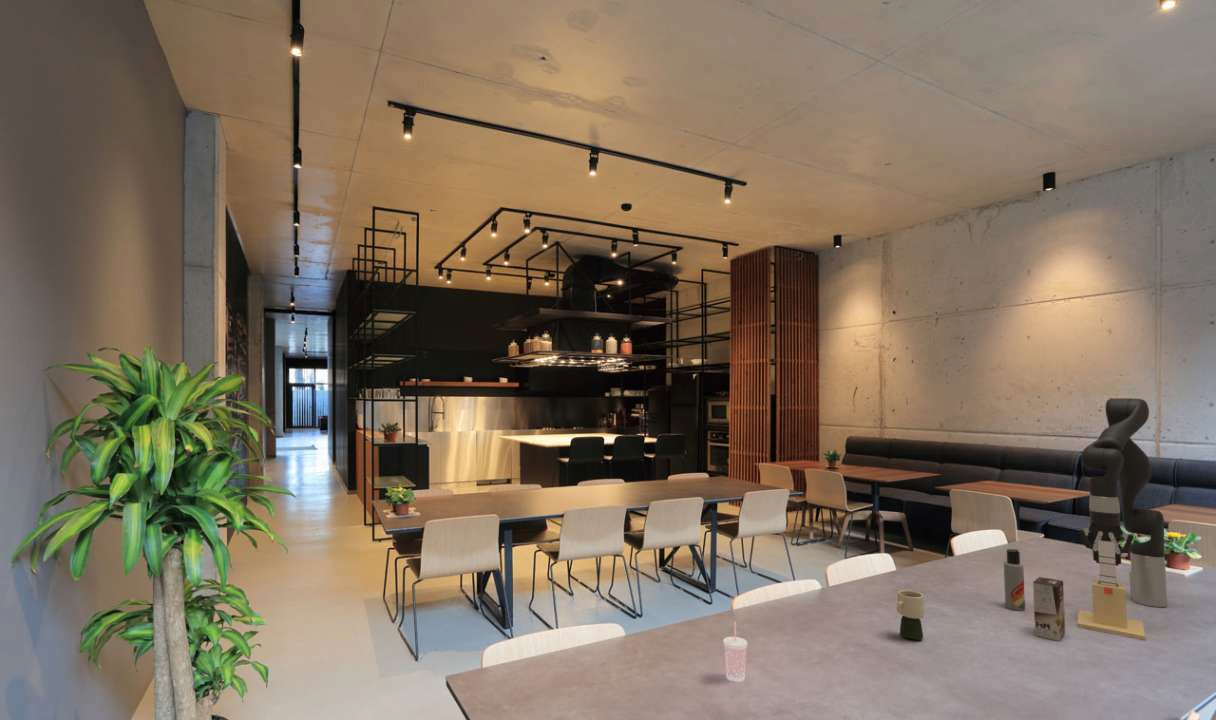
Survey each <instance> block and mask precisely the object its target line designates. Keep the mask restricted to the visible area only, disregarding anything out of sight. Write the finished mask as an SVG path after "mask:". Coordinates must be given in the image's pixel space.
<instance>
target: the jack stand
mask: <svg viewBox="0 0 1216 720" xmlns="http://www.w3.org/2000/svg"><path fill="white" fill-rule="evenodd" d="M1125 585H1126V584H1125V583H1122V582H1117V587H1113V586H1107V585H1100V579H1096V578H1092V582H1091V589H1092V590H1091V591H1092V606H1093V607H1092V608H1093V612H1091V611H1085V610H1081V609H1080V610H1078V614H1077V615H1078V617H1077V628H1080V629H1085V630H1091V631H1095V630H1096V632H1100V631H1101V632H1102V633H1105V632H1106V634H1110V633H1112V634H1111V635H1116V634H1118V635H1117V636H1121V635H1123V636H1122V637H1126V636H1127V638H1131V637H1133V638H1132V639H1136V638H1138V639H1137V640H1141V639H1143V640H1142V641H1146V634H1145V628H1144V623H1143V621H1141V620H1137V619H1136V620H1135V619H1129V618H1127V600H1126V586H1125ZM1101 632H1100V633H1101Z"/></svg>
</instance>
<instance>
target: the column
mask: <svg viewBox="0 0 1216 720" xmlns="http://www.w3.org/2000/svg"><path fill="white" fill-rule="evenodd" d="M1098 551H1099V563H1098V564H1099V567H1098V569H1099V573H1098V574H1099V580H1100V585H1107V586H1113V587H1117V583H1118V582H1117V570H1116V569H1117V568H1116V562H1115V553H1116V551H1115V545H1114V542H1111V541H1104V540H1098Z"/></svg>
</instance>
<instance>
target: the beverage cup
mask: <svg viewBox="0 0 1216 720" xmlns="http://www.w3.org/2000/svg"><path fill="white" fill-rule="evenodd" d="M733 624H734V628H733V631H734V636H728V637H725V638H723V641H722V642H723V646H724V656H725V657H724V658H725V659H724V660H725V677H726V679H728V680H729V681H731V682H737V683H738V682H743V681H744V680H745V676H746V663H747V661H746V660H747V658H746V657H747V648H748V644H749V643H748V641H747V640H746V639H745V638H742V637H738V636H737V620H734V623H733Z"/></svg>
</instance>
